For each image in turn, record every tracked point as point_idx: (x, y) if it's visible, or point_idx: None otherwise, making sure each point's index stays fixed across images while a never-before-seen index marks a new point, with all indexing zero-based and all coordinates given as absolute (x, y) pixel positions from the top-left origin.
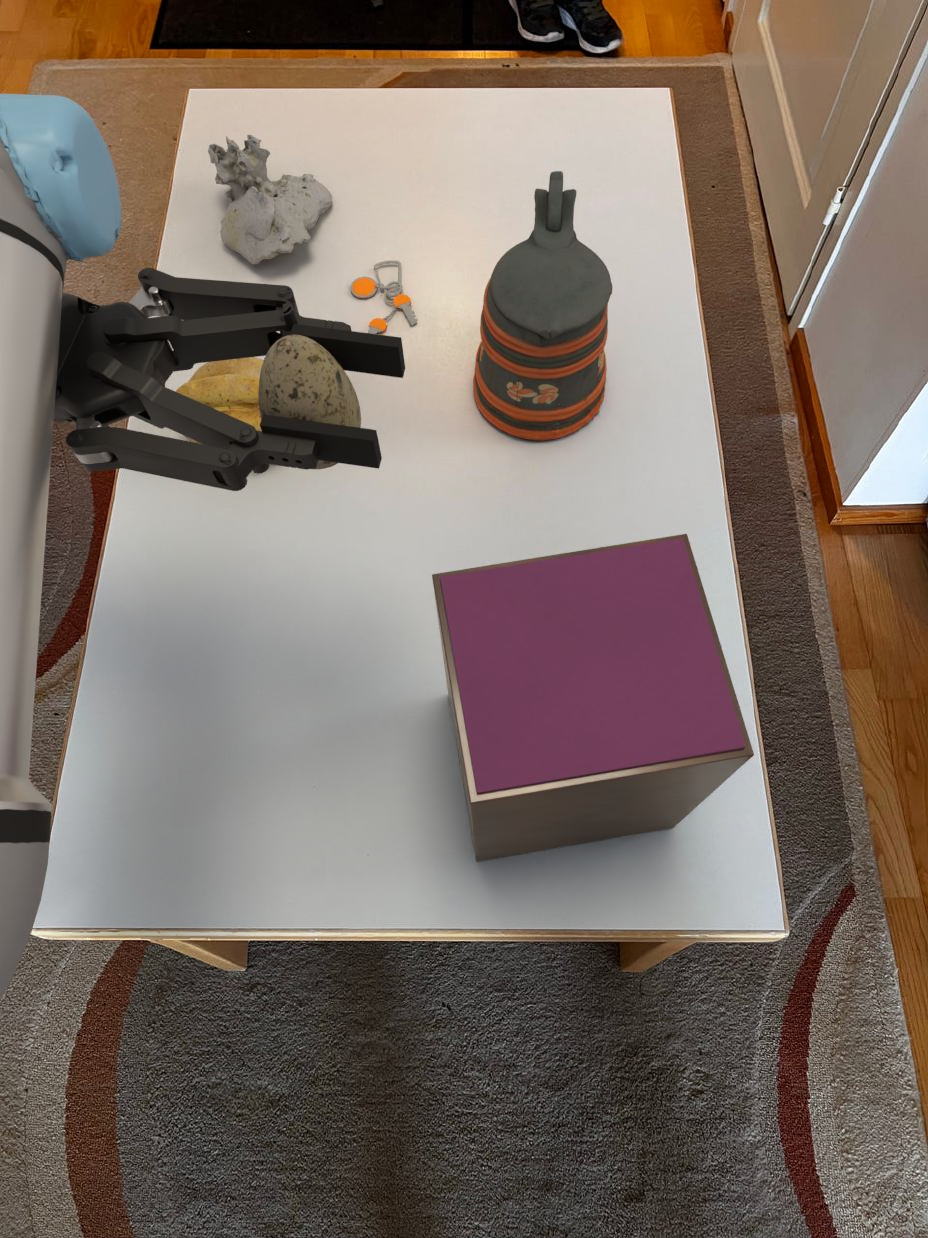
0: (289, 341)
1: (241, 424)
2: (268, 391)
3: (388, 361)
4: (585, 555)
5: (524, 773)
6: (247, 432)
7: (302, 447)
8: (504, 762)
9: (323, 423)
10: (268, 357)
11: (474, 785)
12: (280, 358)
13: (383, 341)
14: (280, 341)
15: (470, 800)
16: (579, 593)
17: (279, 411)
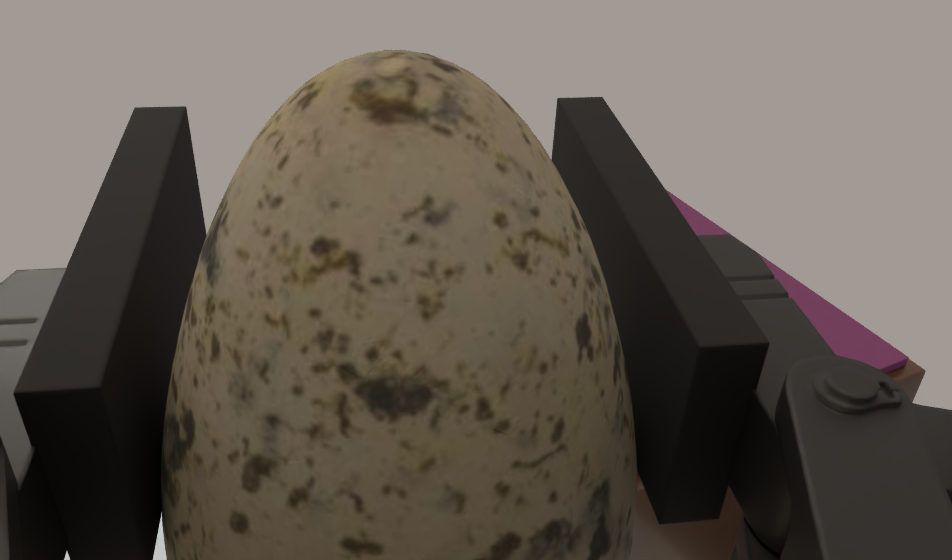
0: (377, 65)
1: (816, 427)
2: (586, 313)
3: (193, 207)
4: None
5: (828, 315)
6: (847, 374)
7: (725, 256)
8: (833, 337)
9: (611, 186)
10: (460, 202)
11: (895, 372)
12: (488, 104)
13: (157, 134)
14: (377, 104)
15: (922, 370)
16: None
17: (618, 341)
